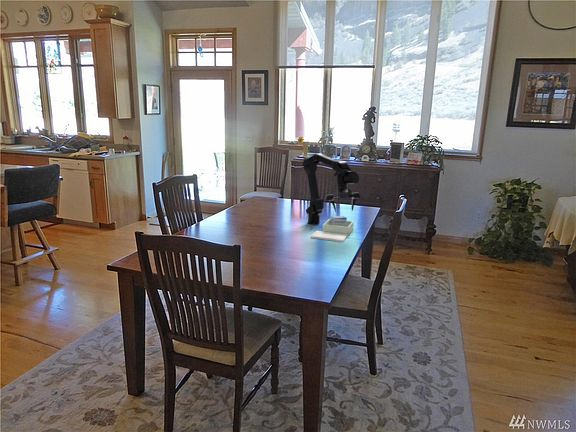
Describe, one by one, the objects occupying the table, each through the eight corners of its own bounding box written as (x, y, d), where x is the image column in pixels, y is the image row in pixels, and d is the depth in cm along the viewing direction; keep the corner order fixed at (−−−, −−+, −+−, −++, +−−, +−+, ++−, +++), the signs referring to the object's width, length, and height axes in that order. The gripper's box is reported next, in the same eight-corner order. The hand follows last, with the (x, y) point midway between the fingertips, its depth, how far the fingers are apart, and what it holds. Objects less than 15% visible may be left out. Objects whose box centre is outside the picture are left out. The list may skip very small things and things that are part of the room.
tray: (310, 237, 222) (310, 236, 221) (316, 232, 232) (316, 230, 232) (343, 242, 216) (343, 240, 216) (347, 236, 226) (347, 234, 226)
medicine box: (333, 232, 232) (334, 218, 230) (330, 230, 236) (331, 216, 234) (346, 232, 234) (347, 217, 232) (343, 229, 238) (344, 215, 236)
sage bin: (322, 232, 231) (323, 224, 230) (328, 226, 244) (329, 218, 242) (348, 236, 227) (349, 227, 225) (353, 229, 239) (353, 221, 238)
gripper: (325, 186, 221) (328, 214, 222) (360, 183, 219) (362, 212, 221) (325, 185, 232) (327, 212, 234) (358, 182, 230) (360, 209, 232)
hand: (344, 211), depth 230 cm, fingers open, 9 cm apart
